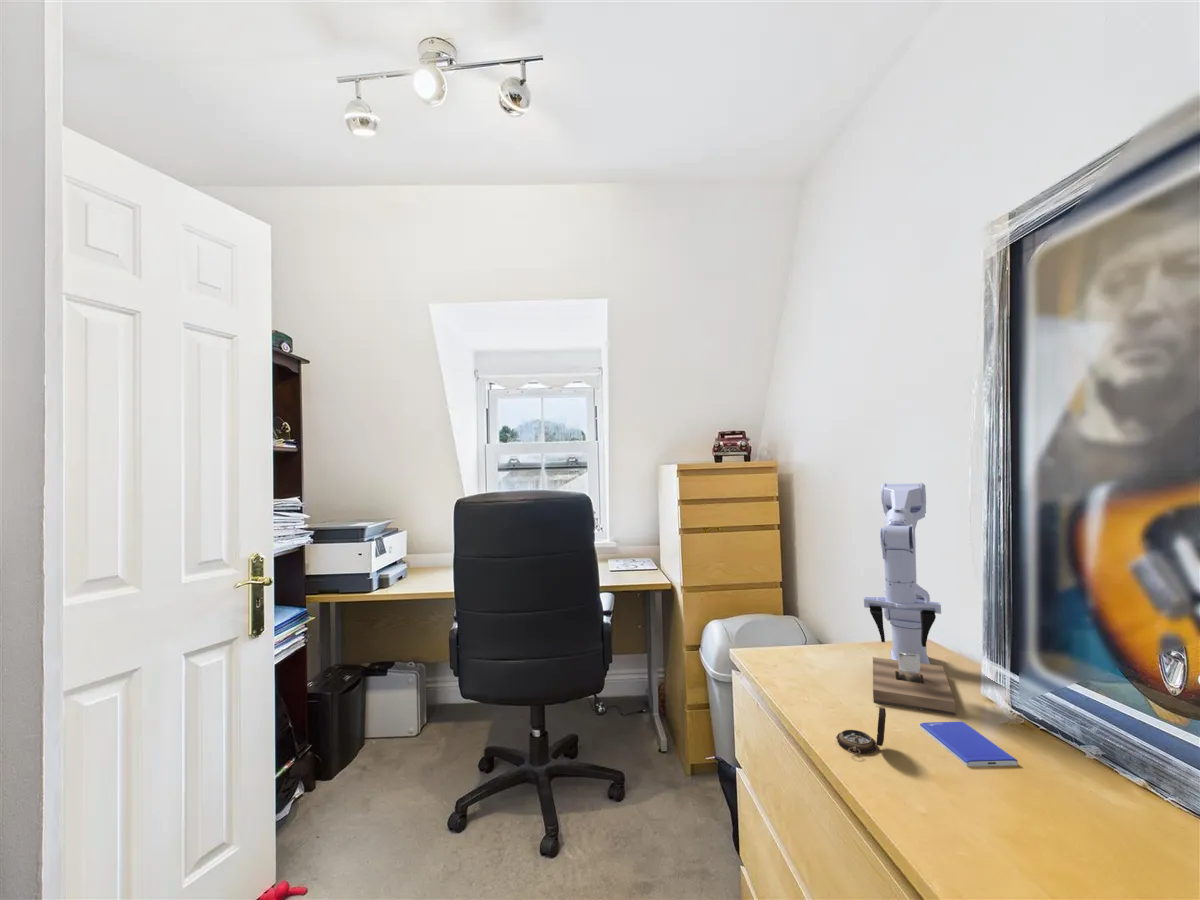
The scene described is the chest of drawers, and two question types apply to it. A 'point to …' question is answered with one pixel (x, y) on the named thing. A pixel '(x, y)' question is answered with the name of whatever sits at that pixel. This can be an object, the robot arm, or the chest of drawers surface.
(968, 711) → the chest of drawers surface
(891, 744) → the chest of drawers surface
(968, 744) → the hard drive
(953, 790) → the chest of drawers surface
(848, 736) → the compass
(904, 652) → the peg
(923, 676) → the socket board
